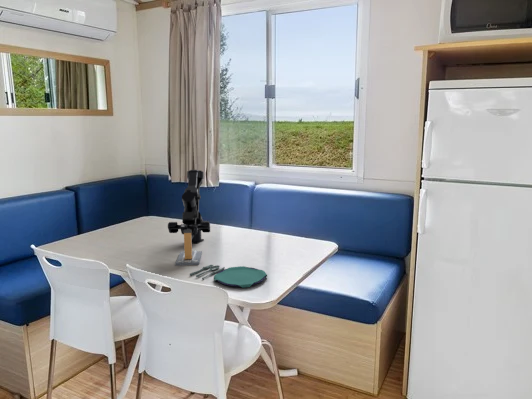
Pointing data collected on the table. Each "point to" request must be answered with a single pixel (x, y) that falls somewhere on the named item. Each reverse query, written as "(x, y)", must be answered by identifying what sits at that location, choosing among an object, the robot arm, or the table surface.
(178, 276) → the table surface
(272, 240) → the table surface
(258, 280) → the cutlery set
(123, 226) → the table surface
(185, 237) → the tan wooden bar
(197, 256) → the board
